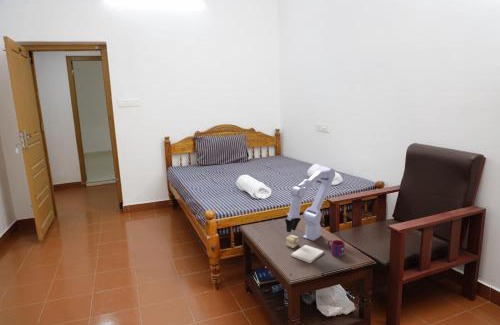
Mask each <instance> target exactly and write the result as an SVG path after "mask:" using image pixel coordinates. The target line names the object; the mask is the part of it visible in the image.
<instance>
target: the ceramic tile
mask: <svg viewBox="0 0 500 325" xmlns="http://www.w3.org/2000/svg"><path fill="white" fill-rule="evenodd" d="M324 253H325V251H324V250H321V249H320V248H316V247H313V246H310V245H307V244H304V245H302V246H301V247H300V248H298V249H296V250H295V251H294V252H291V253H290V256H291V257H292V258H295V259H297V260H301V261H303V262H306V263H308V264H311V263H312V262H314V261H315V260H316V259H319V257H320V256H322V255H323V254H324Z"/></svg>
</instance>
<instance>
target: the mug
mask: <svg viewBox="0 0 500 325" xmlns="http://www.w3.org/2000/svg"><path fill="white" fill-rule="evenodd" d="M330 242H331V244H330ZM345 245H346V244H345V242H344V241H343V240H341V239H335V240H331V239H330V240H328V242H327V246H328V248H329V249H330V250H331V255H332V256H333V257H334V258H342V257H344V256H345Z"/></svg>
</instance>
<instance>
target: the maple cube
mask: <svg viewBox="0 0 500 325" xmlns="http://www.w3.org/2000/svg"><path fill="white" fill-rule="evenodd" d="M298 245H299V236H297V235H293V234H290V235H288V236H286V238H285V246H286V247H290V248H292V249H293V248H296V247H297V246H298Z"/></svg>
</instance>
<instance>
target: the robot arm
mask: <svg viewBox="0 0 500 325" xmlns="http://www.w3.org/2000/svg"><path fill="white" fill-rule="evenodd" d="M335 177H336V171H335V169H334V168H330V167H325V166H321V165H320V166H318V167H317V168H316V170H315V172H314V173H313V174H312V175H311V176H310V177H309V178H307V179H303V181H302V182H300V183H299V184H298V185H297V186H292V187H291V190H290V198H291V199H290V200H291V202H290V205H289V206H290V207H289V212H287V213H286V216H287V217H286V218H284V221H285V224H286V226H285V227H286V232H287V233H291V232H292V230H293V231H296V229H297V226H298V225H299V223H300V222H301V220H302V219H303V221H304V223H305V234H304V235H302V238H305V239H307V240H310V241H316V240H317V239H319V238H320V237H321V236H322V234H321V227H322V226H321V220H322V216H323V214H322V211H321V209H322V205H323V204H324V201H325V198H326V196H327V194H328V193H329V189H330V188H331V186H332V183H333V181H334V179H335ZM318 180H319V181H320V182H321V184H320V186H319V189H318V191H317V193H316V195H315V197H314V199H313V202H312V204H311V206H308V207H307V208H306V209H305V211H304V212H303V214H302V218H300V213H301V211H300V210H301V207H302V200H303V198H304V197H305V196H306V194H307V192H308V191H309V190H310V189H311V188H312V187H313V185H314V183H316V182H317V181H318Z"/></svg>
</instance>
